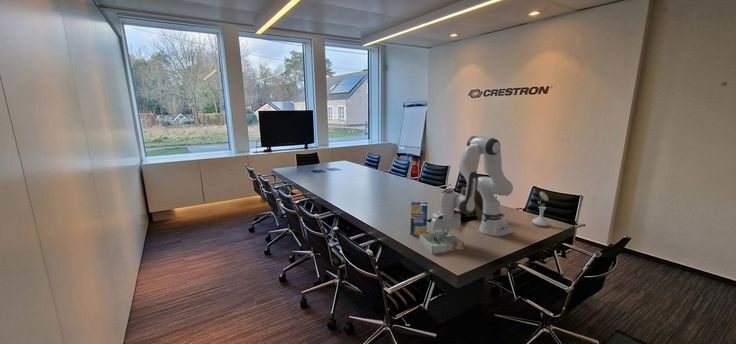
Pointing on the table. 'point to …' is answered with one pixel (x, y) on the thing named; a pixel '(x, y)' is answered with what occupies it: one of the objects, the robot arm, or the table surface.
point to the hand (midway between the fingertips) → (445, 234)
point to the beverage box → (418, 218)
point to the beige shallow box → (450, 245)
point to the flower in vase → (541, 213)
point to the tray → (432, 244)
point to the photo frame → (479, 204)
